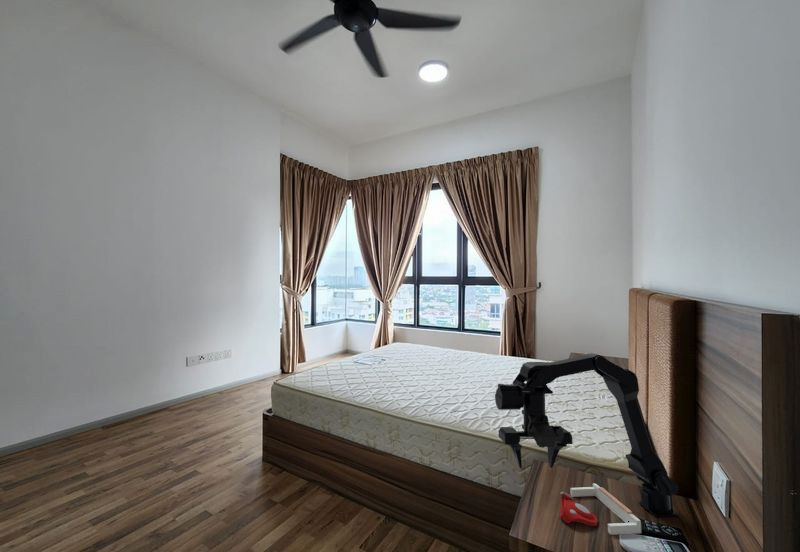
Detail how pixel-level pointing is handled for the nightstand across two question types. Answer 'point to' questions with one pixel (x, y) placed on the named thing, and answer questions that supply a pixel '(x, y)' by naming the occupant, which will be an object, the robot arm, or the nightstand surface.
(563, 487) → the nightstand surface
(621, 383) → the robot arm
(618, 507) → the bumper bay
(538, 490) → the nightstand surface
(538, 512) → the nightstand surface
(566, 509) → the tracker holder
